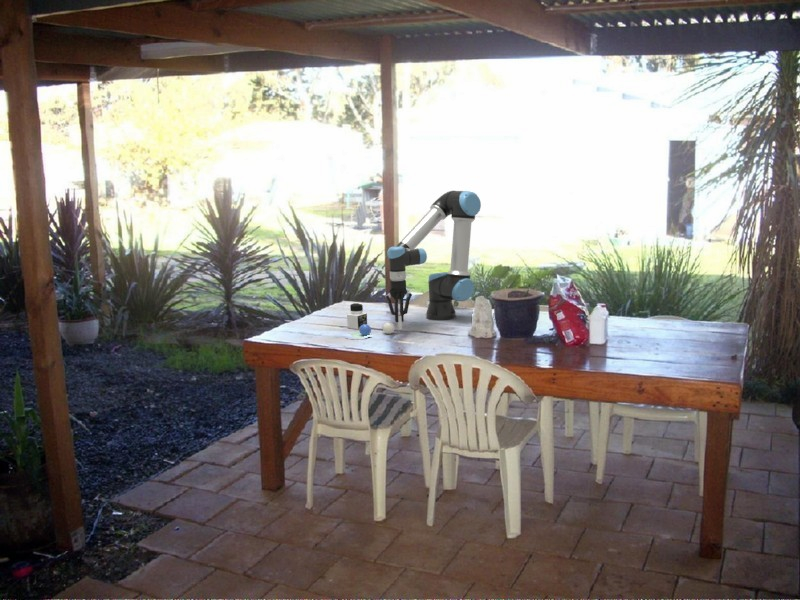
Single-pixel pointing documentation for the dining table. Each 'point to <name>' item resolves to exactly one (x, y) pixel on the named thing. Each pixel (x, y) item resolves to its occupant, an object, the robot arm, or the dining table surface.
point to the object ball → (365, 329)
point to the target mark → (357, 335)
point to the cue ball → (388, 328)
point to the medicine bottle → (356, 316)
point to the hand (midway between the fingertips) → (399, 328)
